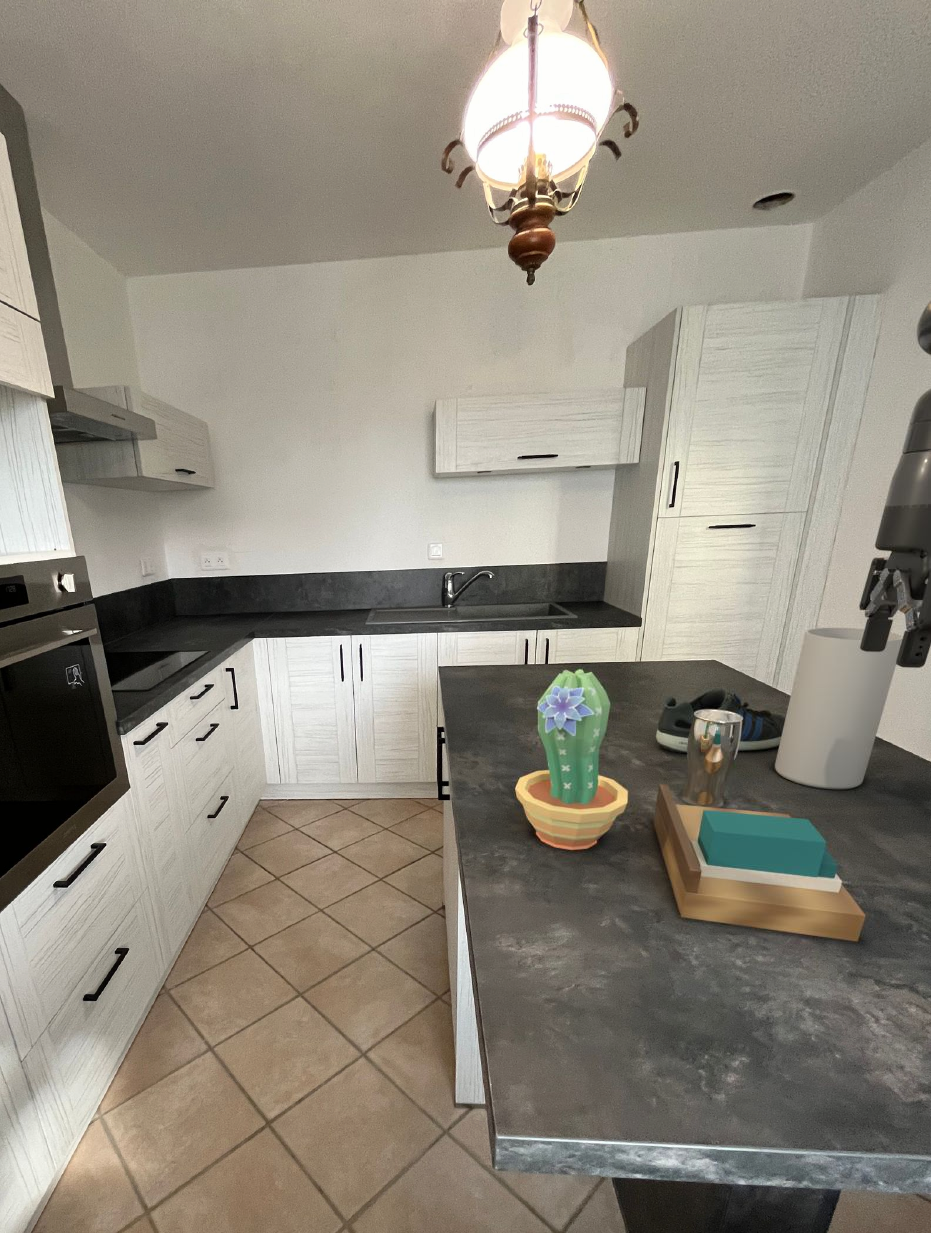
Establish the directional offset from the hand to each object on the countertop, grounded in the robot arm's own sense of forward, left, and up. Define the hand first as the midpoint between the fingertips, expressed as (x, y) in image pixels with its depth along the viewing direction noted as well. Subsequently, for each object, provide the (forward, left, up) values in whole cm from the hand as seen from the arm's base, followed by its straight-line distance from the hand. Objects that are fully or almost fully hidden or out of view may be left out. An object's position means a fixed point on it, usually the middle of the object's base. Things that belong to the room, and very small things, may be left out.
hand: (889, 658), depth 66 cm
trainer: (+10, +8, -24) cm, 27 cm away
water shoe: (+1, -49, -28) cm, 57 cm away
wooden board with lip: (+11, +3, -28) cm, 30 cm away
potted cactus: (+32, -2, -28) cm, 43 cm away
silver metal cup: (+11, -19, -28) cm, 36 cm away
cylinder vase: (-10, -35, -28) cm, 46 cm away
